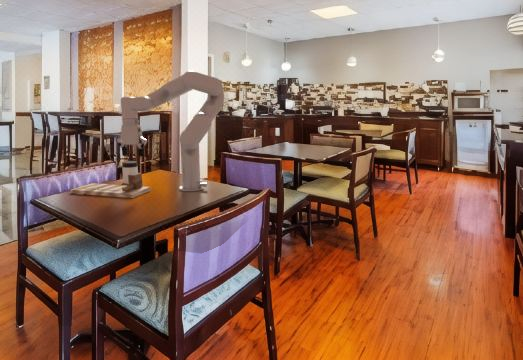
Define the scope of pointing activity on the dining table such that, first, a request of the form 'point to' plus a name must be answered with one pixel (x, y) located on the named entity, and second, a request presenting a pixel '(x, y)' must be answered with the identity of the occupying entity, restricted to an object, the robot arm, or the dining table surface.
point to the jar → (128, 169)
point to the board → (109, 190)
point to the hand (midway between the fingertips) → (132, 156)
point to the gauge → (133, 181)
